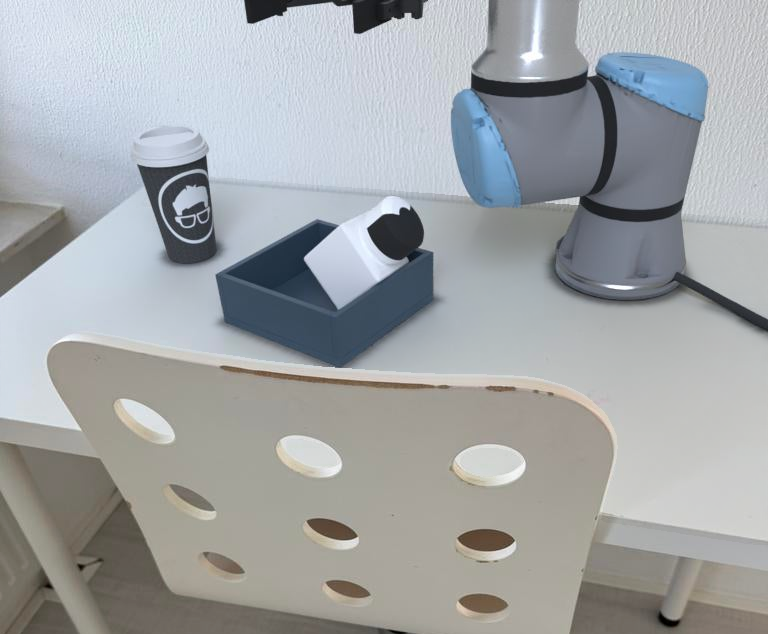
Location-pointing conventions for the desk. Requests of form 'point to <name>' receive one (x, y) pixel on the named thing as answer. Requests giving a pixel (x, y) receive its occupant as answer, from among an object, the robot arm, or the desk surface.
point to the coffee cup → (178, 189)
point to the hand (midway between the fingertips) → (300, 13)
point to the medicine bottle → (366, 250)
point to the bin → (318, 298)
